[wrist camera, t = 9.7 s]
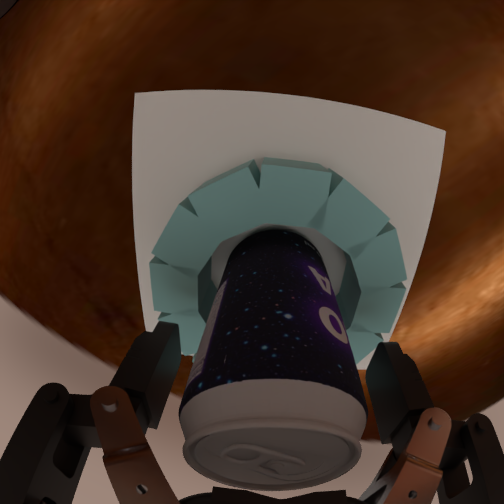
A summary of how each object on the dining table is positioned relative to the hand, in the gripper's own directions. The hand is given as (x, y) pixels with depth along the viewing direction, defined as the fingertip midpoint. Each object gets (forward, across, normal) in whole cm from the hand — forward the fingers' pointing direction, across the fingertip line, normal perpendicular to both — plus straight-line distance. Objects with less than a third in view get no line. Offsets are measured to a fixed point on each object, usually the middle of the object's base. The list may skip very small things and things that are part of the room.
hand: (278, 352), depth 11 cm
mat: (+8, 0, -1) cm, 8 cm away
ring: (+7, 0, 0) cm, 7 cm away
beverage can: (+7, 0, 0) cm, 7 cm away
